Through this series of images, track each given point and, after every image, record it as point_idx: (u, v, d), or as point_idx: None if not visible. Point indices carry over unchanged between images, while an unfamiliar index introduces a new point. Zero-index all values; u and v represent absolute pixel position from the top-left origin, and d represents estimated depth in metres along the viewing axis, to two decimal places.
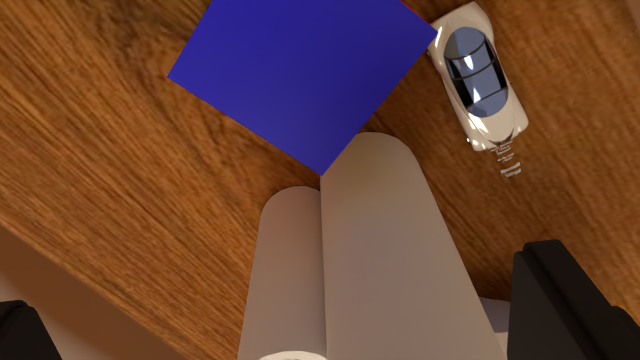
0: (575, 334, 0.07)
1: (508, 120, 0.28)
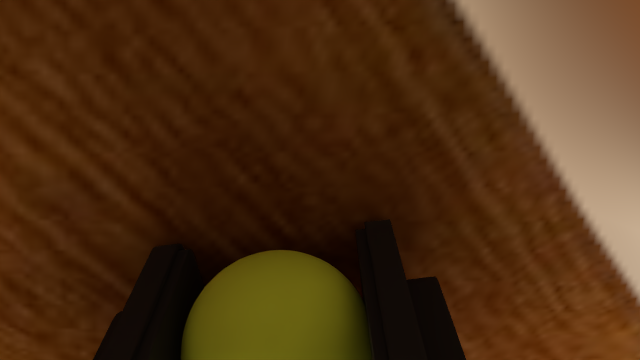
0: (369, 295, 0.08)
1: None
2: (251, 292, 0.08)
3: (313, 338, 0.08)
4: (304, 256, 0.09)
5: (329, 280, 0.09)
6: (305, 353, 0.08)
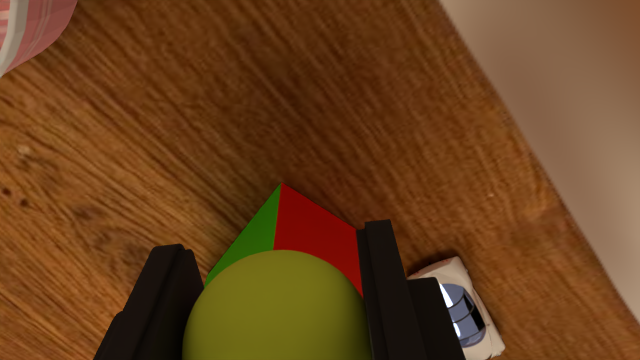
0: (369, 295, 0.08)
1: (486, 349, 0.31)
2: (253, 292, 0.08)
3: (314, 337, 0.08)
4: (305, 257, 0.09)
5: (330, 280, 0.09)
6: (306, 353, 0.08)
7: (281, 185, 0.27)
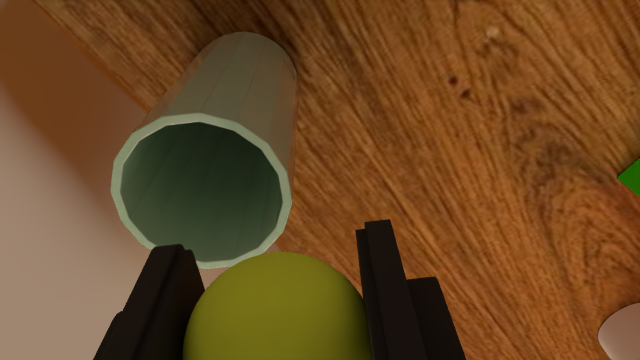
0: (369, 295, 0.08)
1: None
2: (253, 294, 0.08)
3: (315, 340, 0.08)
4: (305, 258, 0.09)
5: (330, 282, 0.09)
6: (307, 354, 0.08)
7: None
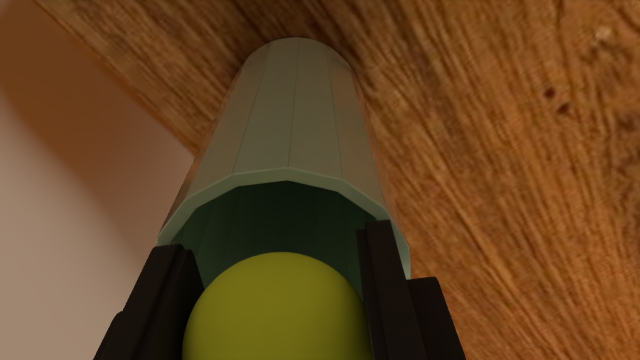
0: (369, 295, 0.08)
1: None
2: (252, 295, 0.08)
3: (314, 340, 0.08)
4: (304, 259, 0.09)
5: (329, 282, 0.09)
6: (305, 355, 0.08)
7: None
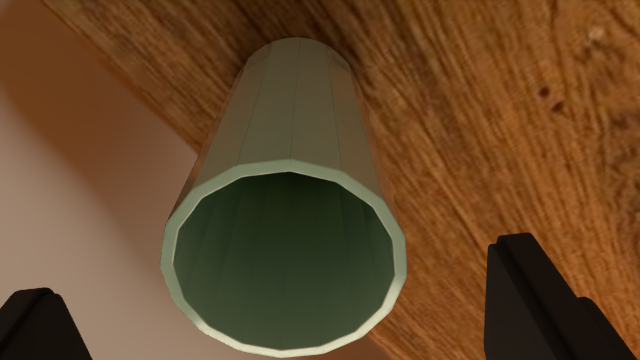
0: (540, 322, 0.07)
1: None
2: None
3: None
4: None
5: None
6: None
7: None
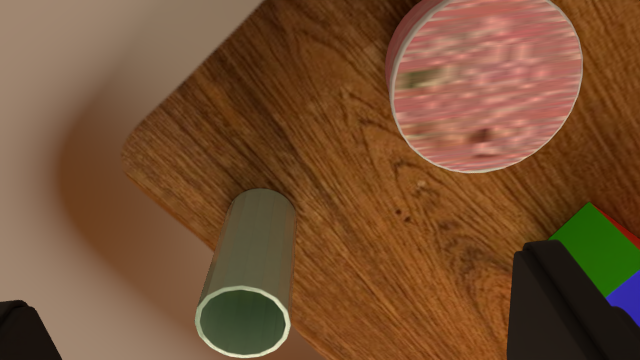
0: (575, 334, 0.07)
1: None
2: None
3: None
4: None
5: None
6: None
7: (591, 203, 0.39)
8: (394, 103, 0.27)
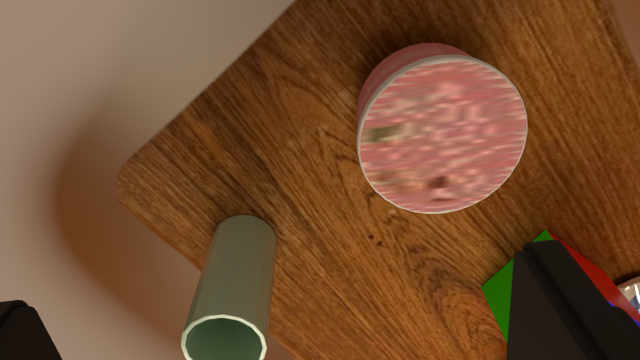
0: (575, 334, 0.07)
1: None
2: None
3: None
4: None
5: None
6: None
7: (547, 231, 0.42)
8: (360, 154, 0.30)
